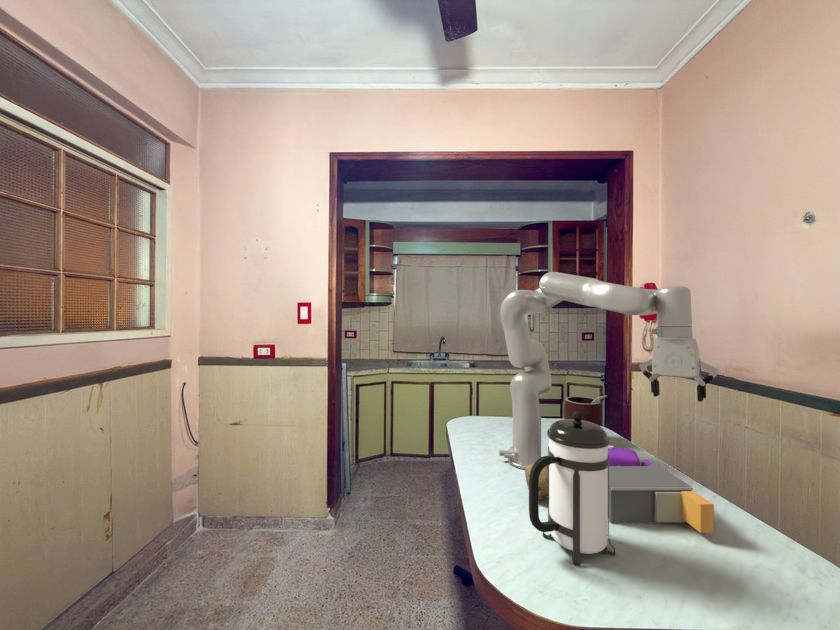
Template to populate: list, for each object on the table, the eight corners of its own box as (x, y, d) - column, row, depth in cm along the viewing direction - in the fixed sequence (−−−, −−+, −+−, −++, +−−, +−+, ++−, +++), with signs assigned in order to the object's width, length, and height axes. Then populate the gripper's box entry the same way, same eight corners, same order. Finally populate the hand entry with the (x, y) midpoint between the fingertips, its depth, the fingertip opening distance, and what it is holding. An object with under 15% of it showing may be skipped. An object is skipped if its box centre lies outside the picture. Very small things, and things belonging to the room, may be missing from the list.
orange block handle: (674, 537, 81) (674, 504, 81) (654, 520, 88) (654, 489, 88) (713, 537, 81) (713, 504, 81) (691, 519, 88) (691, 489, 88)
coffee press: (544, 517, 91) (544, 399, 91) (616, 537, 83) (616, 408, 83) (528, 558, 76) (528, 417, 76) (613, 586, 68) (613, 429, 68)
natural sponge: (558, 493, 103) (558, 458, 103) (560, 509, 95) (560, 471, 95) (525, 488, 106) (525, 455, 106) (524, 504, 98) (524, 467, 98)
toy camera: (659, 494, 103) (659, 459, 103) (607, 489, 106) (607, 455, 106) (643, 477, 114) (643, 445, 114) (597, 473, 116) (597, 442, 116)
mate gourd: (561, 444, 142) (561, 394, 142) (567, 434, 154) (567, 387, 154) (605, 452, 134) (605, 398, 134) (608, 441, 146) (608, 391, 145)
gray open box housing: (603, 524, 88) (603, 487, 88) (580, 498, 101) (580, 466, 101) (692, 523, 88) (692, 487, 88) (659, 498, 101) (659, 466, 101)
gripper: (633, 333, 99) (636, 396, 98) (714, 334, 86) (717, 405, 86) (642, 332, 104) (644, 392, 104) (719, 332, 91) (722, 400, 91)
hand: (677, 398), depth 95 cm, fingers open, 9 cm apart
